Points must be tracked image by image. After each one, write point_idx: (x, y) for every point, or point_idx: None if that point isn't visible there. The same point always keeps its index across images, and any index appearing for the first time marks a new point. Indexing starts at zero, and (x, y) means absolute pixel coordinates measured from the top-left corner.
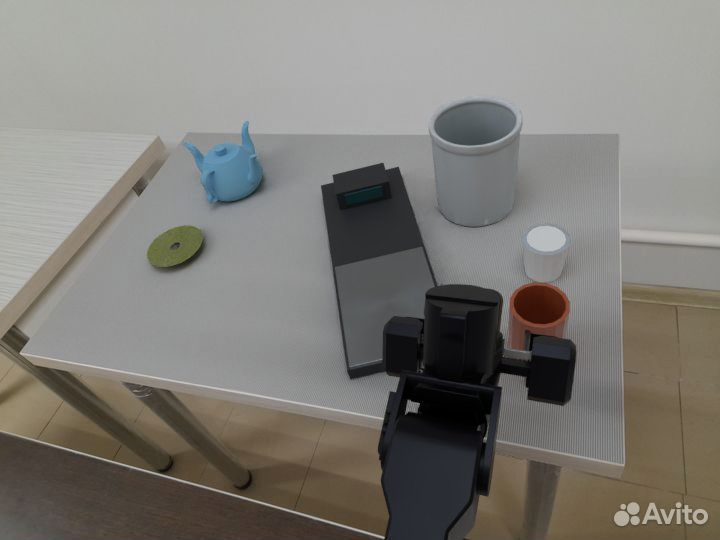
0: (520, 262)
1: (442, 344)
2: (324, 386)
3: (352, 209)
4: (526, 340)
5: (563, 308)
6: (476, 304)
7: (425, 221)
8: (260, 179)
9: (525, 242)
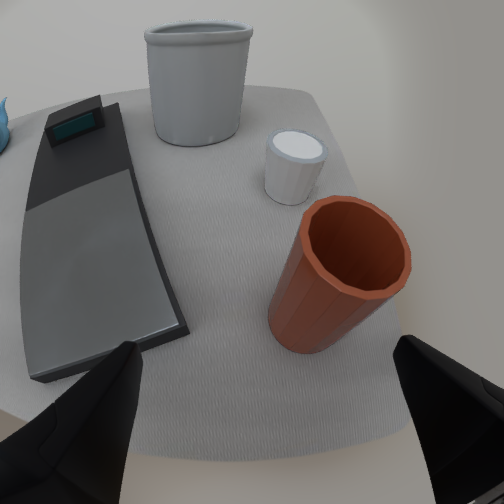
0: (258, 181)
1: None
2: (20, 391)
3: (62, 145)
4: (467, 404)
5: (384, 244)
6: None
7: (139, 146)
8: (4, 141)
9: (273, 147)
